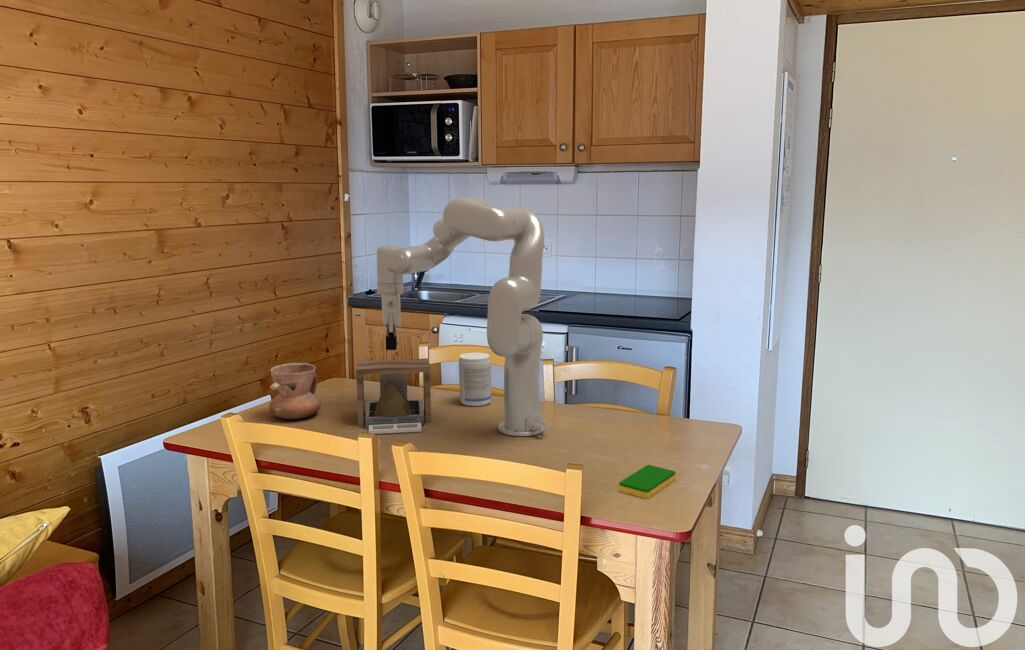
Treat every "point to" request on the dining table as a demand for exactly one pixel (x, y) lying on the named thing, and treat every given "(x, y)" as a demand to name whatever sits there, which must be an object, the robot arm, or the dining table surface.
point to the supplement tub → (475, 379)
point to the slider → (401, 384)
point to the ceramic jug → (294, 391)
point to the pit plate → (395, 428)
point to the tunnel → (389, 368)
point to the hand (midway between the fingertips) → (391, 349)
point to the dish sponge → (647, 481)
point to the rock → (392, 403)
